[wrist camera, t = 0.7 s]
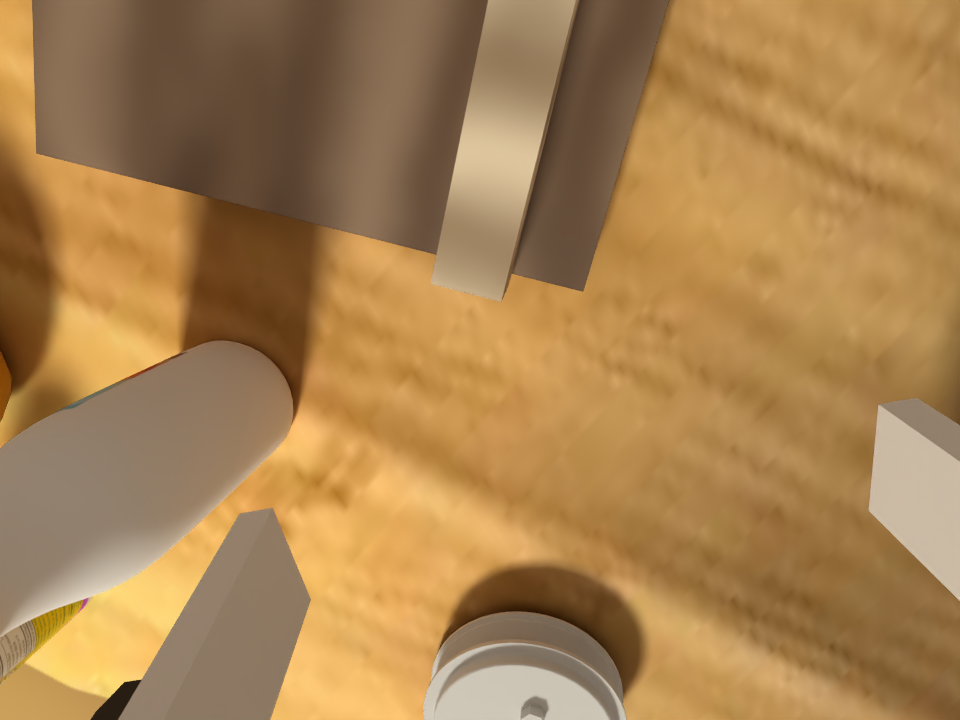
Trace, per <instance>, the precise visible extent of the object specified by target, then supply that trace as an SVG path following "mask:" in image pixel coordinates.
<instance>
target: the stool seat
mask: <svg viewBox="0 0 960 720" xmlns="http://www.w3.org/2000/svg"><path fill="white" fill-rule="evenodd" d="M668 3H669V0H580V2H579V6H578V10H577V14H576V18H575V22H574V26H573V30H572V34H571V38H570V42H569V46H568V50H567V54H566V58H565V62H564V66H563V70H562V74H561V78H560V82H559V86H558V90H557V94H556V98H555V102H554V106H553V110H552V114H551V118H550V122H549V126H548V130H547V134H546V138H545V142H544V146H543V150H542V154H541V158H540V162H539V166H538V170H537V174H536V178H535V182H534V186H533V190H532V194H531V198H530V202H529V206H528V210H527V214H526V218H525V222H524V226H523V230H522V234H521V238H520V242H519V246H518V250H517V254H516V258H515V262H514V266H513V270H512V274H515V275H519V276H523V277H527V278H531V279H535V280H539V281H543V282H547V283H551V284H555V285H559V286H563V287H567V288H571V289H575V290H579V291H584V287H585V284H586V280H587V277H588V274H589V270H590V267H591V264H592V260H593V257H594V253H595V250H596V247H597V243H598V240H599V236H600V233H601V230H602V226H603V223H604V219H605V216H606V213H607V209H608V206H609V203H610V199H611V196H612V192H613V189H614V186H615V182H616V179H617V175H618V172H619V169H620V165H621V162H622V158H623V155H624V152H625V148H626V145H627V142H628V138H629V135H630V131H631V128H632V125H633V121H634V118H635V114H636V111H637V108H638V104H639V101H640V97H641V94H642V91H643V87H644V84H645V81H646V77H647V74H648V70H649V67H650V64H651V60H652V57H653V53H654V50H655V47H656V43H657V40H658V36H659V33H660V30H661V26H662V23H663V19H664V16H665V13H666V9H667V6H668ZM487 4H488V0H32V11H33V47H34V83H35V119H36V153H37V154H41V155H45V156H49V157H53V158H57V159H61V160H64V161H68V162H72V163H76V164H80V165H84V166H88V167H92V168H96V169H100V170H104V171H108V172H112V173H116V174H120V175H124V176H128V177H132V178H136V179H140V180H144V181H148V182H151V183H155V184H159V185H163V186H167V187H171V188H175V189H179V190H183V191H187V192H191V193H195V194H199V195H203V196H207V197H211V198H215V199H219V200H223V201H227V202H231V203H235V204H238V205H242V206H246V207H250V208H254V209H258V210H262V211H266V212H270V213H274V214H278V215H282V216H286V217H290V218H294V219H298V220H302V221H306V222H310V223H314V224H318V225H322V226H325V227H329V228H333V229H337V230H341V231H345V232H349V233H353V234H357V235H361V236H365V237H369V238H373V239H377V240H381V241H385V242H389V243H393V244H397V245H401V246H405V247H409V248H412V249H416V250H420V251H424V252H428V253H432V254H436V255H437V250H438V245H439V240H440V235H441V230H442V225H443V221H444V216H445V211H446V206H447V201H448V196H449V191H450V186H451V181H452V176H453V171H454V166H455V162H456V157H457V152H458V147H459V142H460V137H461V132H462V127H463V122H464V117H465V112H466V107H467V103H468V98H469V93H470V88H471V83H472V78H473V73H474V68H475V63H476V58H477V53H478V48H479V44H480V39H481V34H482V29H483V24H484V19H485V14H486V9H487Z"/></svg>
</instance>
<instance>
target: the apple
mask: <svg viewBox="0 0 960 720" xmlns="http://www.w3.org/2000/svg"><path fill="white" fill-rule="evenodd" d="M11 381H12V376H11V374H10V372H9V369H8V367H7V364H6V362H5V360H4V357H3V355H2V353H1V350H0V421H1V420H2V418H3V415H4V412H5V409H6V406H7V403H8V400H9V398H10V395H11Z"/></svg>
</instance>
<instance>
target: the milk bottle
mask: <svg viewBox="0 0 960 720" xmlns="http://www.w3.org/2000/svg"><path fill="white" fill-rule="evenodd" d="M292 419H293V399H292V395H291V390H290V388H289V386H288V383H287V381H286V379H285V377H284V376H283V374H282V373H281V371H280V369H279V368H278V367H277V366H276V365H275V364H274V363H273V362H272V361H271V360H270V359H269V358H268V357H266V356H265V355H264V354H262V353H261V352H260V351H258V350H255V349H254V348H252V347H250V346H247V345H243V344H241V343H237V342H232V341H210V342H206V343H203V344H201V345H198V346H196V347H193V348H191V349H188V350H186V351H184V352H182V353H179V354H177V355H175V356H173V357H171V358H168V359H166V360H164V361H162V362H160V363H158V364H155V365H153V366H151V367H149V368H147V369H145V370H142V371H140V372H138V373H136V374H134V375H132V376H129V377H127V378H125V379H123V380H121V381H119V382H117V383H115V384H112V385H110V386H108V387H106V388H104V389H102V390H100V391H98V392H96V393H94V394H91V395H89V396H87V397H85V398H83V399H81V400H79V401H77V402H75V403H73V404H71V405H69V406H67V407H65V408H63V409H61V410H59V411H57V412H55V413H54V414H52V415H50V416H48V417H46V418H44V419H42V420H40V421H38V422H36V423H35V424H33V425H32V426H30V427H28V428H27V429H25V430H24V431H22V432H21V433H19V434H18V435H16V436H15V437H13V438H12V439H11V440H10V441H8V442H7V443H6V444H5V445H3V446H2V447H1V448H0V637H2V636H3V635H5V634H6V633H8V632H9V631H11V630H12V629H14V628H16V627H18V626H20V625H22V624H24V623H25V622H27V621H29V620H31V619H33V618H36V617H38V616H40V615H42V614H44V613H46V612H49V611H51V610H54V609H57V608H59V607H62V606H65V605H68V604H71V603H74V602H77V601H80V600H83V599H86V598H89V597H92V596H94V595H97V594H100V593H102V592H105V591H107V590H109V589H111V588H113V587H116V586H118V585H120V584H122V583H123V582H125V581H127V580H129V579H130V578H132V577H134V576H136V575H137V574H139V573H140V572H142V571H143V570H144V569H146V568H147V567H149V566H150V565H151V564H153V563H154V562H155V561H157V560H158V559H159V558H161V557H162V556H163V555H164V554H165V553H166V552H168V551H169V550H170V549H171V548H172V547H173V546H174V545H176V544H177V543H178V542H179V541H180V540H181V539H182V538H184V537H185V536H186V535H187V534H188V533H189V532H190V531H191V530H192V529H193V528H194V527H195V526H196V525H197V524H199V523H200V522H201V521H202V520H203V519H204V518H205V517H206V516H207V515H208V514H209V513H210V512H211V511H212V510H213V509H215V508H216V507H217V506H218V505H219V504H220V503H221V502H222V501H223V500H224V499H225V498H226V497H227V496H228V495H229V494H230V493H231V492H232V491H234V490H235V489H236V488H237V487H238V486H239V485H240V484H241V483H242V482H243V481H244V480H245V479H246V478H247V477H248V476H249V475H250V474H251V473H252V472H253V471H254V470H255V469H256V468H258V467H259V466H260V465H261V464H262V463H263V462H264V461H265V460H266V459H267V458H268V457H269V456H270V455H271V454H272V453H273V452H274V451H275V450H276V449H277V448H278V447H279V446H280V444H281V443H282V442H283V441H284V439H285V438H286V436H287V435H288V433H289V430H290V427H291V424H292Z"/></svg>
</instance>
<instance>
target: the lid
mask: <svg viewBox="0 0 960 720" xmlns="http://www.w3.org/2000/svg"><path fill="white" fill-rule="evenodd" d="M423 712H424V720H627V718H626V713H625V710H624V706H623V689H622V681H621V678H620V675H619V672H618V670H617V668H616V666H615V664H614V662H613V660H612V659H611V657H610V656H609V654H608V653H607V652H606V650H605V649H604V648H603V647H602V646H601V645H600V644H599V643H598V642H597V641H596V640H595V639H593V638H592V637H591V636H590V635H588V634H587V633H586V632H584V631H582V630H581V629H579V628H578V627H576V626H574V625H572V624H570V623H568V622H565V621H563V620H561V619H558V618H554V617H551V616H548V615H543V614H539V613H532V612H521V611H518V612H502V613H495V614H491V615H487V616H483V617H480V618H478V619H475V620H473V621H471V622H469V623H467V624H465V625H464V626H462V627H460V628H459V629H458V630H456V631H455V632H454V633H453V634H451V635H450V636H449V638H448V639H447V640H446V641H445V642H444V643H443V645H442V646H441V648H440V650H439V651H438V653H437V656H436V658H435V661H434V664H433V669H432V675H431V682H430V684H429V687H428V689H427V692H426V696H425V700H424V710H423Z"/></svg>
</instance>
